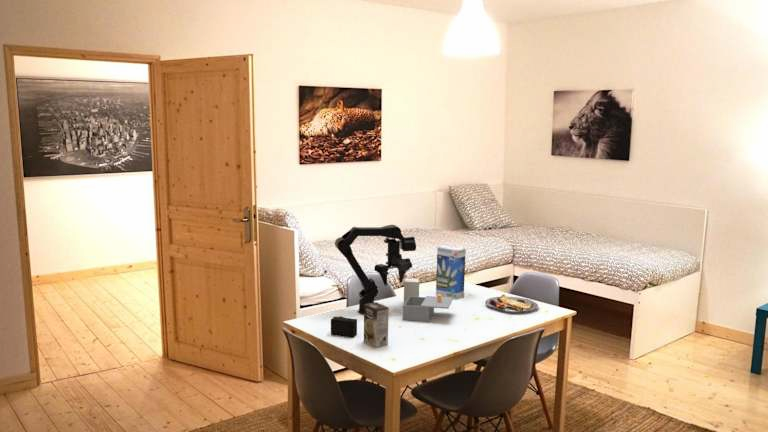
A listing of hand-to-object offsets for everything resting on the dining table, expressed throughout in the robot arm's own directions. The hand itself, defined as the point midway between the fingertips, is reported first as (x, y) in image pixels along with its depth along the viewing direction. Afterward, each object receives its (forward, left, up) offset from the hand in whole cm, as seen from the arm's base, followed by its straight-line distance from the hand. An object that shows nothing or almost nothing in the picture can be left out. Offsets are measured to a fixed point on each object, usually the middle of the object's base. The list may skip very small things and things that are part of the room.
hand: (393, 284), depth 307 cm
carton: (+4, -14, -13) cm, 20 cm away
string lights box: (+40, +3, -13) cm, 42 cm away
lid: (+9, -21, -6) cm, 23 cm away
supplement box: (+13, +2, -13) cm, 19 cm away
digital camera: (-38, -15, -13) cm, 43 cm away
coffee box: (-34, -32, -13) cm, 48 cm away
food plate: (+51, -29, -14) cm, 60 cm away
